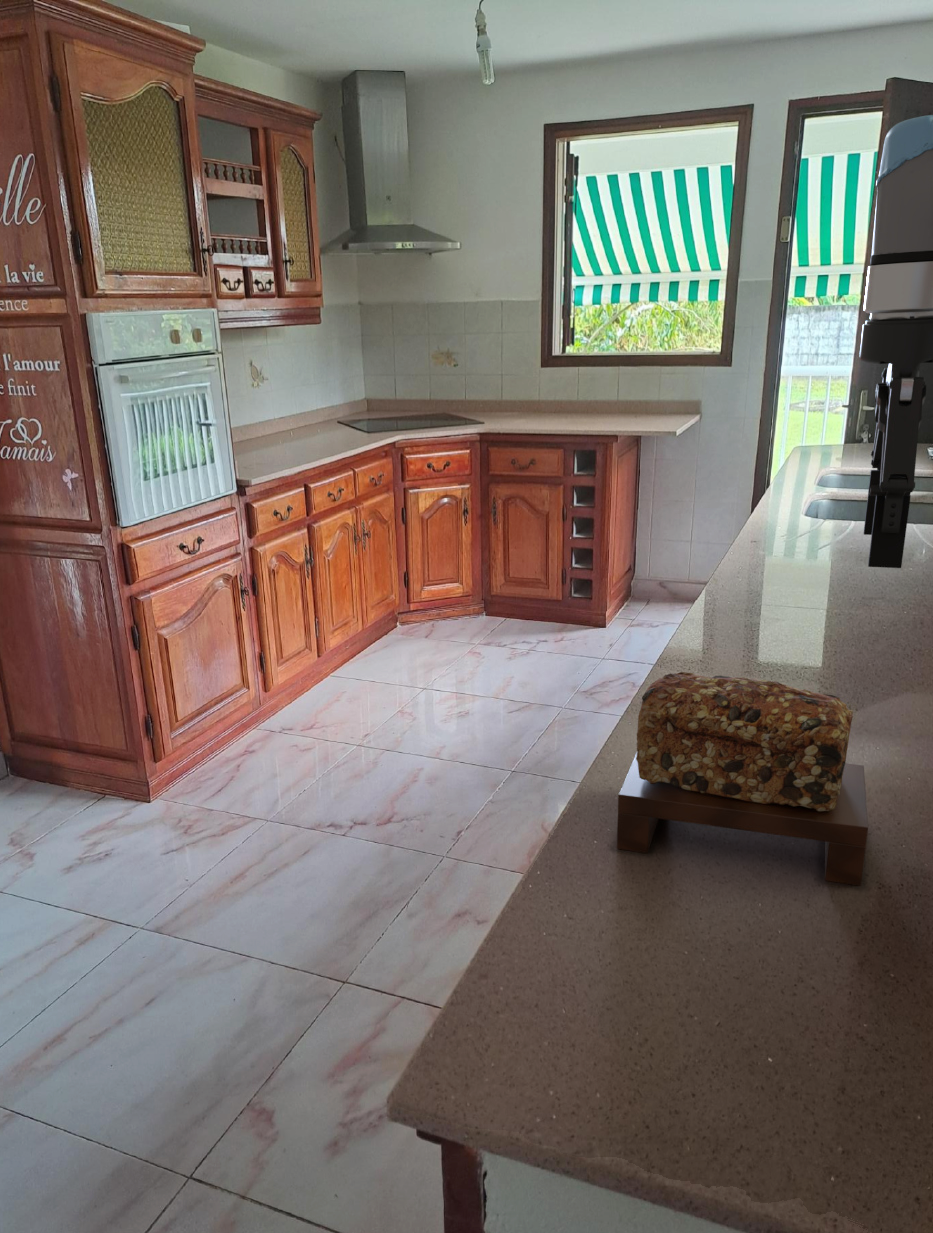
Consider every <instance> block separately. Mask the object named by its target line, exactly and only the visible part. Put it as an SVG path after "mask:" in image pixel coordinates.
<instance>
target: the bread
mask: <svg viewBox="0 0 933 1233" xmlns="http://www.w3.org/2000/svg"><path fill="white" fill-rule="evenodd" d="M853 711H854V710H852V709H850V708H848V707H847V704H846V703H845V702H843V701H841V699H840V697H838V695H833V694H827V693H826V694H825V693H819V692H814V691H811V690H808V689H800V688H798V687H793V686H790V685H787V684H785V683H783V682H781V681H777V680H774V681H770V680H768V679H755V678H748V677H745V676H742V677H741V676H740V677H739V676H738V677H734V676H733V677H732V676H727V675H715V676H712V677H708V676H703V675H699V674H695V673H694V672H688V671H687V672H686V671H680V672H677V673H676V672H675V673H668V674H665V675H662V676H661V677H659V678H658V679H656V680H653V681H652V682H651V683H650V684H649V686H648V687H647V688H646V690H645V692H644V694H643V695H642V696H641V707H640V710H639V713H638V717H637V732H636V741H637V742H636V752H637V757H636V760H637V762H638V770H639V777H640V778H641V779H643V780H645V779H646V780H647V781H648V782H650V783H651V784H655V783H657V782H665V783H669V784H672V785H674V786H676V787H679V786H681V787H682V789H686V790H690V791H698V792H701V793H709V794H715V795H719V796H724V797H730V798H735V799H740V800H745V801H751V802H756V803H761V804H769V803H777V804H781V805H784V804H788V805H791V806H793V807H794V806H804V807H806V808H814V809H815V810H817V811H828V810H832V809H834V808H835V807H836V803H837V799H838V794H839V795H840V787H841V783H842V777H843V771H844V766H845V764H846V763H847V762H846V761H847V754H848V747H849V741H850V735H851V734H850V733H851V728H852V722H853V713H854V712H853Z"/></svg>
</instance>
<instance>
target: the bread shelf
mask: <svg viewBox="0 0 933 1233" xmlns="http://www.w3.org/2000/svg"><path fill="white" fill-rule="evenodd" d="M636 757H637V751H636V752H635V754H634V756H633V759H632V761H631V764H630V767H629V768H628V771H627V773H626V776H625V778H624V780H623V783H622V785H621V787H620V790H619V792H618V795H617V824H616V826H617V828H616V829H617V831H616V832H617V833H616V849H617V850H623V851H629V852H636V853H641V854H642V853H643V854H648V853H649V850H650V847H651V844H652V841H653V837H654V835H655V832H656V829H657V825H658V823H659V820H660V819H661V820H667V821H675V822H681V823H688V824H689V823H691V824H696V825H704V826H711V827H718V828H726V829H733V830H740V831H746V832H747V831H748V832H752V833H753V832H754V833H760V834H761V833H762V834H768V835H775V836H783V837H790V838H797V839H805V840H811V841H813V840H814V841H819V842H824V881H827V882H831V883H840V884H846V885H852V886H860V887H861V885H862V878H863V870H864V864H865V855H866V848H867V840H868V834H869V833H868V832H869V820H868V819H869V818H868V806H867V792H866V791H867V790H866V778H865V777H866V776H865V766H864V765H863V764H854V763H847V762H845V763H846V764H845V766H844V771H843V777H842V783H841V787H840V795H839V794H838V799H837V803H836V807H835V808H834V809H832V810H828V811H817V810H815V809H814V808H806V807H804V806H794V807H793V806H791V805H788V804H784V805H781V804H777V803H769V804H761V803H756V802H751V801H745V800H740V799H735V798H730V797H724V796H719V795H715V794H709V793H701V792H698V791H690V790H686V789H682V787H681V786H679V787H676V786H674V785H672V784H669V783H665V782H657V783H655V784H651V783H650V782H648V781H647V780H646V779H645V780H643V779H641V778H640V777H639V770H638V762H637V760H636Z"/></svg>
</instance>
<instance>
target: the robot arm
mask: <svg viewBox="0 0 933 1233" xmlns="http://www.w3.org/2000/svg"><path fill="white" fill-rule="evenodd" d="M875 188H876V198H875V199H876V200H875V213H874V223H873V234H872V244H871V245H872V247H871V256H870V258H869V260H870V261H869V263H870V264H869V265H868V266H867V276H866V286H865V295H864V302H863V311H864V313H866V314H870V315H869V319H868V320H865V323H863V324H862V329H861V338H860V339H861V340H860V347H859V348H860V349H859V360H860V361H861V362H862V363H863V364H872V365H887V364H888V366H887V367H884V369H883V370H882V371H881V378H882V382H877V383H876V386H875V397H874V401H875V404H876V405H875V413H874V422H875V423H876V426H875V433H874V439H873V446H872V450H871V452H870V456H871V461H870V465H871V466H872V467H871V469H870V474H869V480H868V481H869V482H868V492H867V501H866V508H865V517H864V526H863V535H867V536H870V546H869V551H868V554H869V555H868V561H867V567H868V568H887V569H889V568H890V569H902V566H903V565H902V564H903V557H904V552H905V551H904V550H905V544H906V543H905V542H906V534H907V526H908V520H909V511H910V506H911V505H910V503H911V497H912V496H911V493H913V491H914V490H915V489H916V481H915V474H916V463H917V453H918V442H919V441H918V440H919V431H920V430H919V429H920V426H921V423H922V418H923V417H922V416H923V405H924V404H925V400H926V396H927V388H928V387H927V384H926V381H925V378H924V376H920V366H921V364H925V363H929V364H930V363H931V364H933V114H929V115H927V114H926V115H923V116H917V117H913V118H912V117H911V118H909V119H905V120H903V121H900V122H898V123H896V124H895V125H893V126H892V127H891V128H890V129H889V130H888V132H887V133H886V136H885V138H884V142H883V148H882V154H881V161H880V165H879V172H878V177H877V179H876V182H875Z"/></svg>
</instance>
